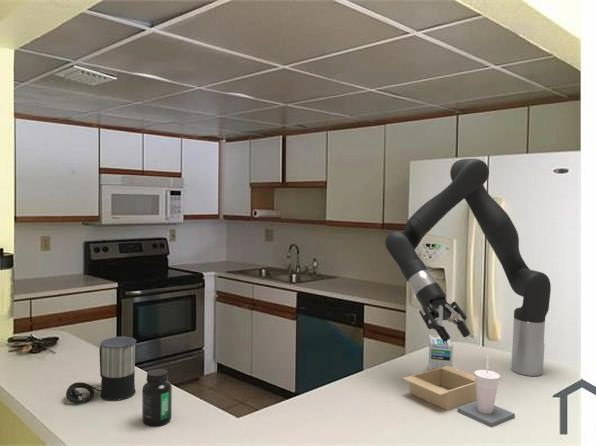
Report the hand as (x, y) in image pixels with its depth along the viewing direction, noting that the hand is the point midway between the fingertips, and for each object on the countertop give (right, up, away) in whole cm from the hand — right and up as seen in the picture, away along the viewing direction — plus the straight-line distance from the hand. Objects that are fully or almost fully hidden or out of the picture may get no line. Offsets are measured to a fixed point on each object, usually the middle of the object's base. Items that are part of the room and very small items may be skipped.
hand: (457, 337), depth 134 cm
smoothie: (+5, -17, -7) cm, 19 cm away
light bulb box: (+2, -17, +23) cm, 28 cm away
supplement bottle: (-78, -17, -15) cm, 81 cm away
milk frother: (-97, -16, -2) cm, 98 cm away
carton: (-3, -17, +4) cm, 18 cm away
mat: (+5, -18, -7) cm, 20 cm away
